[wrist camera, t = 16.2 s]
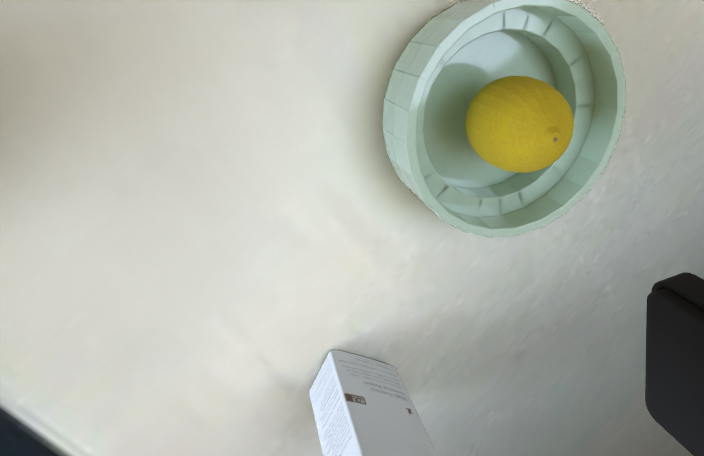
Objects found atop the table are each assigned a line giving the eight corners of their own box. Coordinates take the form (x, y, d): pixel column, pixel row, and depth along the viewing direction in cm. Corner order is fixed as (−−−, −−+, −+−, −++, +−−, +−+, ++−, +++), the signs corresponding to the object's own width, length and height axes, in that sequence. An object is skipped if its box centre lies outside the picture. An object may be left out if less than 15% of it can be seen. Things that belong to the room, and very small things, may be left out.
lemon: (440, 81, 34) (503, 101, 27) (519, 59, 35) (601, 73, 28) (451, 162, 36) (512, 201, 29) (525, 141, 37) (602, 173, 30)
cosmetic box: (396, 364, 42) (463, 487, 32) (372, 409, 44) (428, 543, 33) (326, 346, 40) (372, 472, 29) (302, 394, 41) (338, 533, 30)
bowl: (339, 152, 35) (359, 174, 30) (461, -54, 32) (503, -64, 27) (496, 240, 40) (533, 270, 36) (612, 72, 38) (668, 80, 33)
